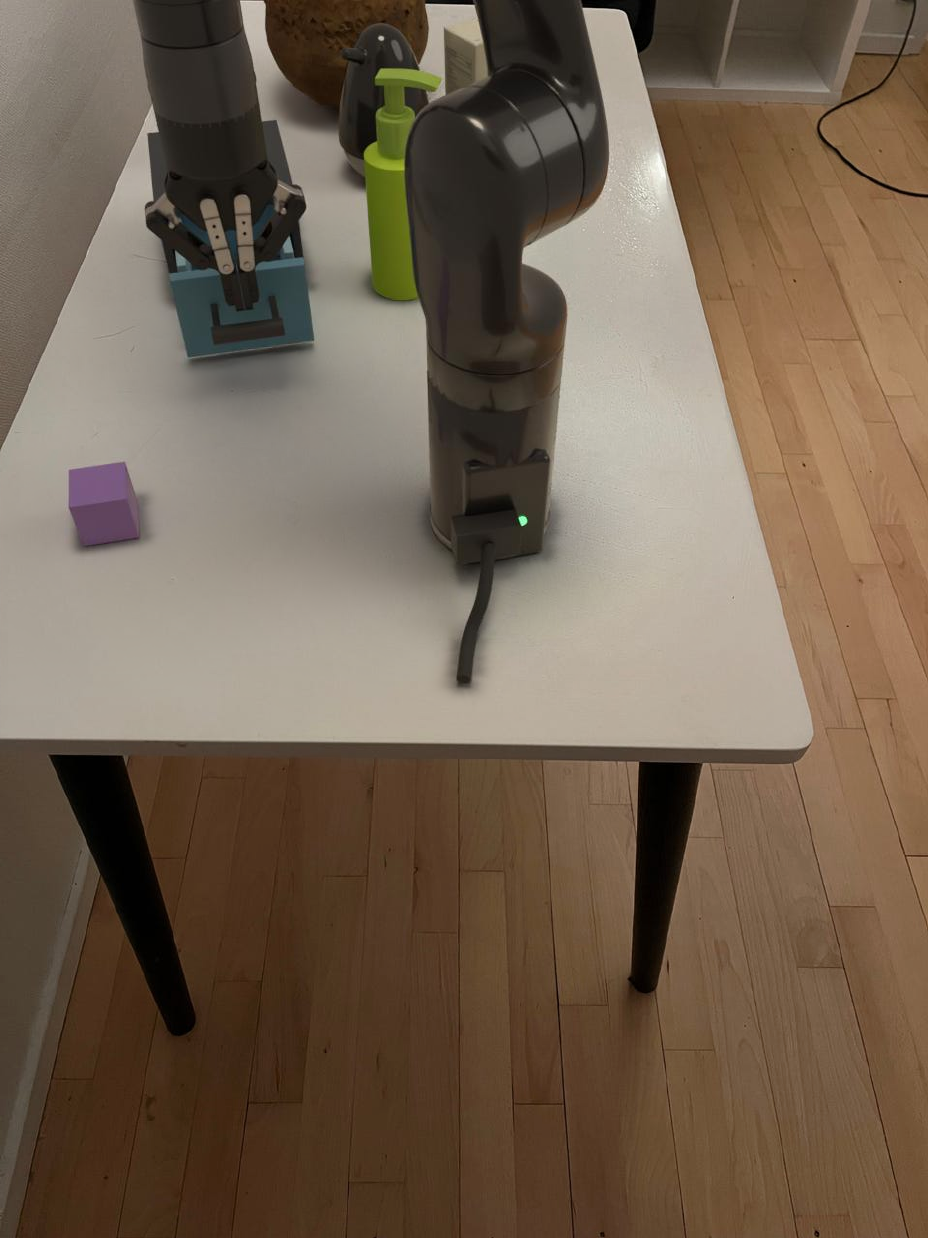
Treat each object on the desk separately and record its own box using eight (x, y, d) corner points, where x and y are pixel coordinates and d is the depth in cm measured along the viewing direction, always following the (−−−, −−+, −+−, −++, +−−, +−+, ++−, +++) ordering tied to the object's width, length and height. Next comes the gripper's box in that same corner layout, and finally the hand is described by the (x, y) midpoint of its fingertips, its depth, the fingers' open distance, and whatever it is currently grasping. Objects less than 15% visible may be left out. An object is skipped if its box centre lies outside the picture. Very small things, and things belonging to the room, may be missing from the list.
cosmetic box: (506, 149, 121) (510, 36, 111) (475, 160, 119) (476, 45, 110) (474, 127, 124) (475, 15, 115) (443, 137, 122) (442, 24, 113)
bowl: (382, 53, 137) (375, -79, 125) (458, 111, 127) (458, -27, 115) (248, 87, 130) (228, -49, 119) (317, 151, 120) (302, 9, 109)
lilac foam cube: (139, 537, 82) (126, 498, 78) (83, 546, 81) (68, 507, 78) (137, 500, 84) (124, 461, 81) (83, 508, 84) (68, 469, 80)
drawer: (322, 373, 93) (313, 297, 87) (191, 392, 91) (172, 315, 85) (295, 260, 105) (285, 185, 99) (178, 274, 103) (161, 199, 97)
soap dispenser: (435, 305, 101) (432, 92, 86) (366, 296, 102) (349, 84, 87) (448, 271, 105) (447, 61, 90) (381, 263, 106) (368, 54, 90)
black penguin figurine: (321, 172, 117) (306, 25, 105) (388, 139, 122) (381, -5, 110) (385, 205, 113) (377, 56, 101) (452, 169, 118) (452, 23, 106)
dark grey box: (307, 286, 103) (295, 193, 96) (176, 303, 101) (154, 209, 94) (288, 209, 112) (276, 119, 105) (167, 223, 110) (147, 132, 103)
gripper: (111, 129, 72) (167, 342, 86) (303, 108, 74) (328, 319, 88) (109, 82, 77) (162, 291, 90) (289, 63, 79) (315, 271, 92)
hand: (244, 305), depth 89 cm, fingers closed
